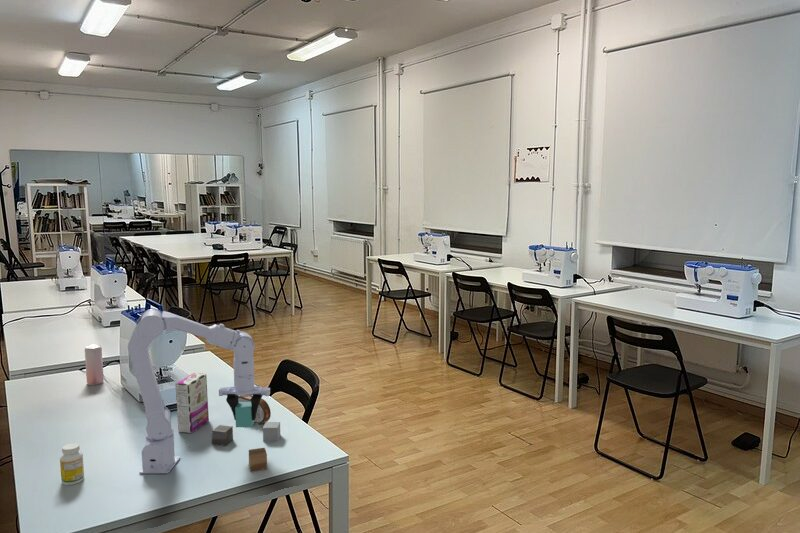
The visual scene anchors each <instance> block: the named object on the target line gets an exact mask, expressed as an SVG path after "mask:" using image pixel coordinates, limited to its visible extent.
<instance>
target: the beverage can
mask: <svg viewBox="0 0 800 533" xmlns="http://www.w3.org/2000/svg"><path fill="white" fill-rule="evenodd" d="M102 349H103V348H102V345H100V344H90V345H89V344H88V345H86V346H85V347H84V361H85V373H86V375H85V376H86V383H87V385H89V386H98V385H101V384H103V382H104V381H105V380H104V363H103V350H102Z"/></svg>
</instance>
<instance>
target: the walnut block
mask: <svg viewBox="0 0 800 533" xmlns="http://www.w3.org/2000/svg"><path fill="white" fill-rule="evenodd" d="M248 467H249V471H250V472H258V471H265V470H268V454H267V450H266V448H265V447H259V448H252V449H248Z"/></svg>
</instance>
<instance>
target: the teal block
mask: <svg viewBox="0 0 800 533" xmlns="http://www.w3.org/2000/svg"><path fill="white" fill-rule="evenodd" d="M235 416H236V420H235V428H252V427H253V425H254V424H255V423H254V422H255V420H252V405H251V402H239V403H238V404H237V406H236V407H235Z"/></svg>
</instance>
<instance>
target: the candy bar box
mask: <svg viewBox="0 0 800 533" xmlns="http://www.w3.org/2000/svg"><path fill="white" fill-rule="evenodd" d="M207 379H208V378H207V373H201V372H193V373H191V374H190V375H188V376H186V377H185V378H183V379H181V380H180V381H178V382H176V383H175V394H176V396H175V397H176V411H177V413H176V414H177V427H178V428H177V430H178V433H182V434H183V433H185V434H192V433H194V432H195V431H196V430H198V429H199V428H200V427H201V426H203V425H204V424H206V423H207V422H208V421H209V420H210V418H209V398H208V385H207V384H208V383H207V382H208V381H207Z"/></svg>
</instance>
